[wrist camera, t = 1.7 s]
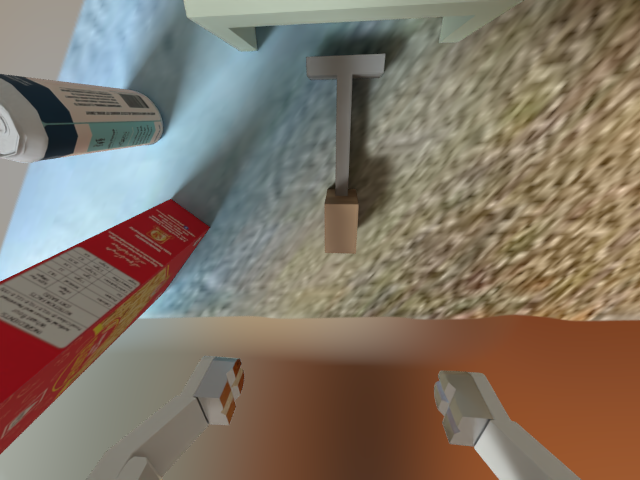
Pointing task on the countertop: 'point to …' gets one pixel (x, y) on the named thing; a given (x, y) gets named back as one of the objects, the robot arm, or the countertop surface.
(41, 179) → the countertop surface
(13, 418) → the food packaging
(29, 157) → the beer can
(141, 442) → the robot arm
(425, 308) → the countertop surface
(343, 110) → the scraper
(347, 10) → the pale green bridge
